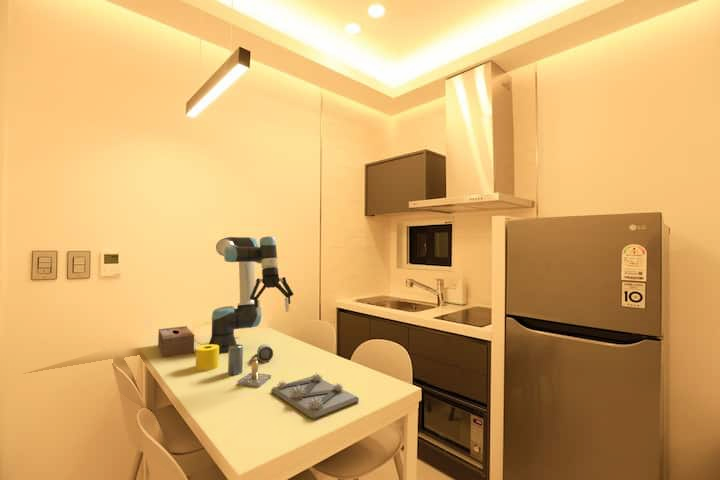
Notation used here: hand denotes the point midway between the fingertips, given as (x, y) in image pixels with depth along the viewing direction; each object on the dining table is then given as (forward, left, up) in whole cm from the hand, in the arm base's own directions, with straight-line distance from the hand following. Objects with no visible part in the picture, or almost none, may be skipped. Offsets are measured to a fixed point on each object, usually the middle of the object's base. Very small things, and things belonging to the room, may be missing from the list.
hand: (273, 312), depth 157 cm
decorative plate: (+20, +28, -28) cm, 45 cm away
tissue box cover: (-17, -69, -28) cm, 76 cm away
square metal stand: (+13, -2, -27) cm, 30 cm away
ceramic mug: (-13, -13, -27) cm, 33 cm away
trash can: (+6, -16, -27) cm, 32 cm away
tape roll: (+3, -33, -27) cm, 43 cm away
